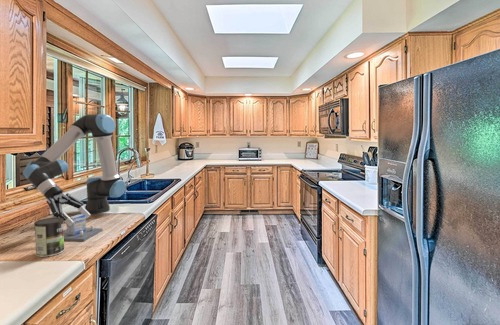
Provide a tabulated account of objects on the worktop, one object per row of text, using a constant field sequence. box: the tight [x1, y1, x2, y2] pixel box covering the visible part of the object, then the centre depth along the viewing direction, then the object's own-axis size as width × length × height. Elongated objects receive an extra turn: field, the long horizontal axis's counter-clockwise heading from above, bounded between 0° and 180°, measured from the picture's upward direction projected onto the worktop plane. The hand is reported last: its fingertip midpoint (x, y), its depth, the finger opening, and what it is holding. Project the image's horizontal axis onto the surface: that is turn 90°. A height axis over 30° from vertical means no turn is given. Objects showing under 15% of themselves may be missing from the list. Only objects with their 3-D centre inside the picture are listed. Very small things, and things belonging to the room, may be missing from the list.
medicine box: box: [66, 213, 87, 235], centre depth 148 cm, size 8×4×9 cm, turn 169°
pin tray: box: [63, 225, 104, 242], centre depth 148 cm, size 16×18×4 cm
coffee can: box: [33, 217, 65, 258], centre depth 125 cm, size 10×10×14 cm
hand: (80, 220), depth 147 cm, fingers open, 13 cm apart
